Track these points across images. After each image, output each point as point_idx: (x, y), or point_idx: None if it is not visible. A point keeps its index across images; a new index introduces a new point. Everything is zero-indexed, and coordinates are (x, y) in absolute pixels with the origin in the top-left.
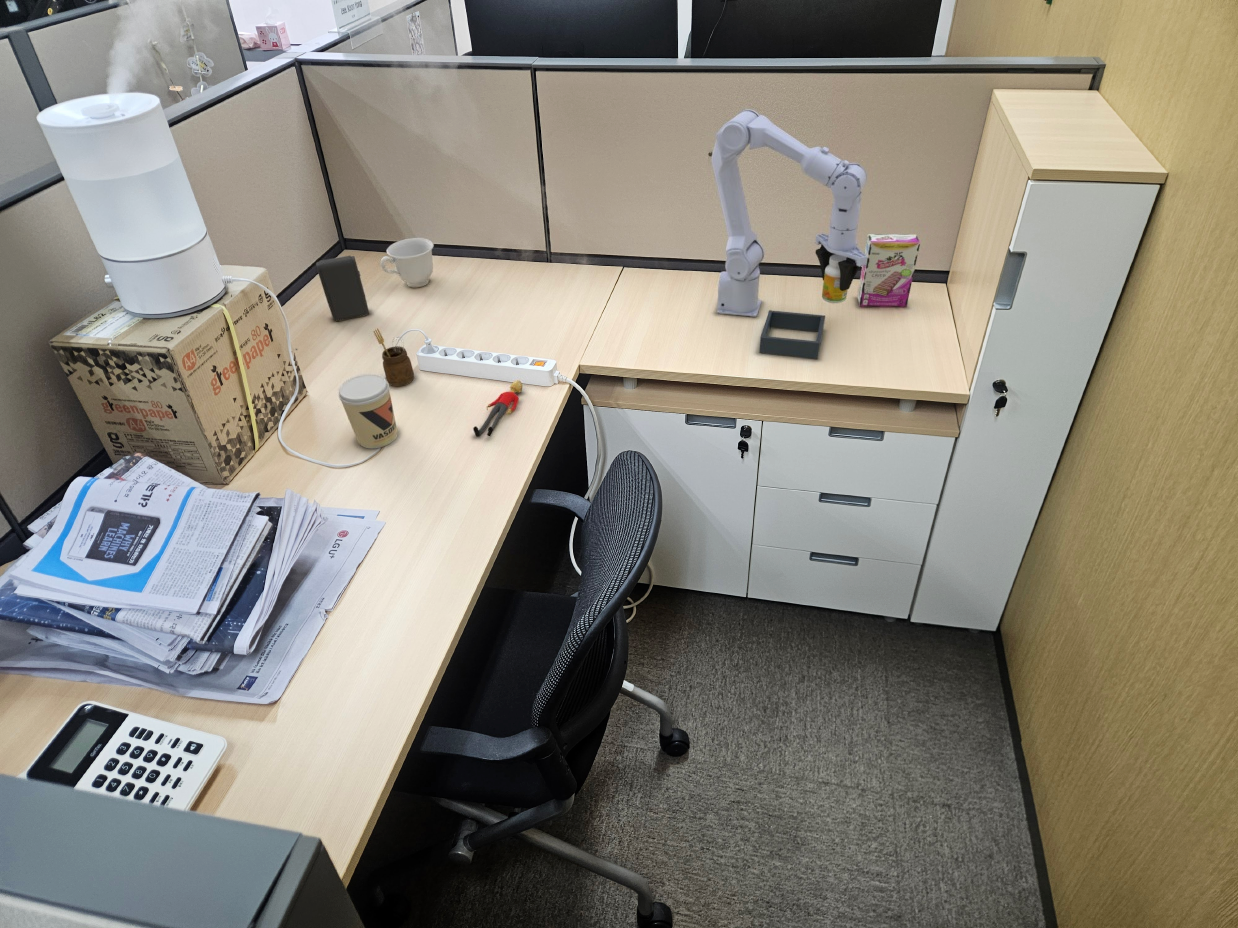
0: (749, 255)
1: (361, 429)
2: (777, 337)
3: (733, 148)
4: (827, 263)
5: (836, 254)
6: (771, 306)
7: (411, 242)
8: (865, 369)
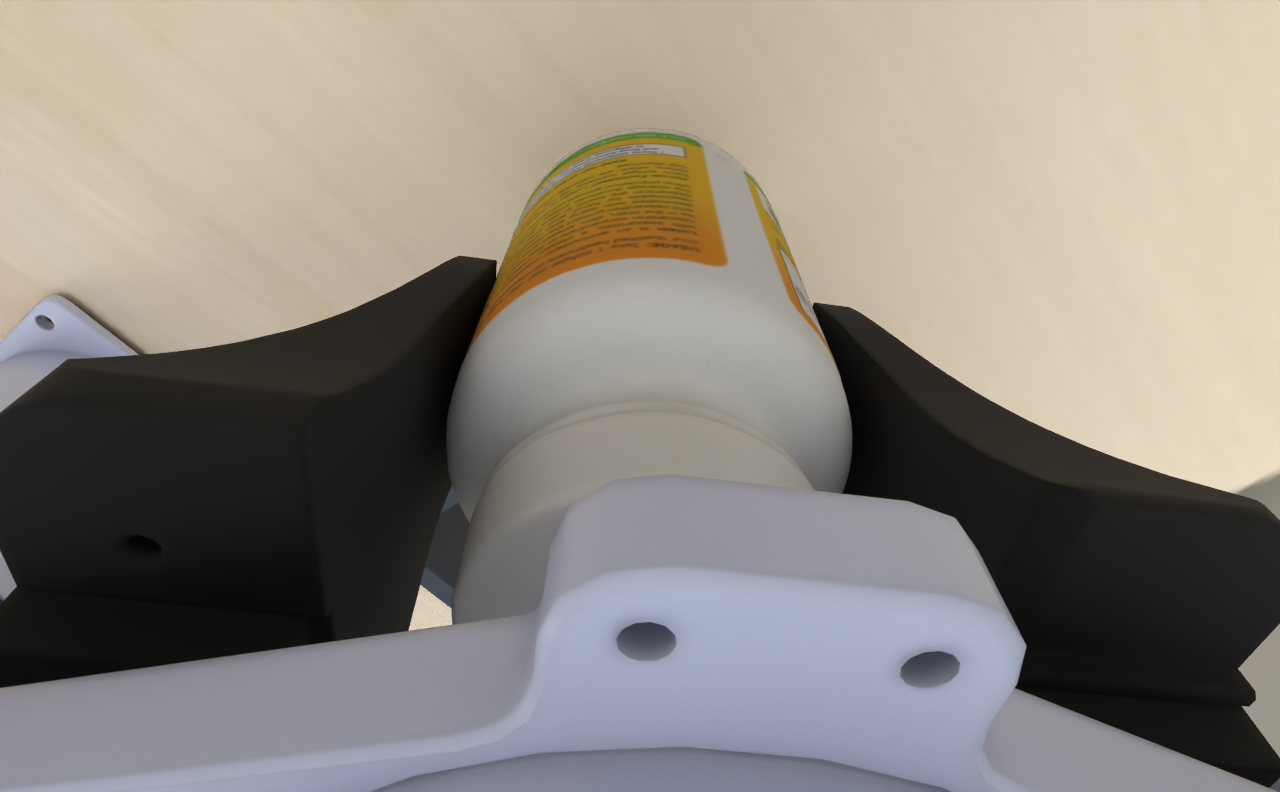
0: None
1: None
2: None
3: None
4: (421, 505)
5: (483, 583)
6: (153, 275)
7: None
8: (1154, 414)
